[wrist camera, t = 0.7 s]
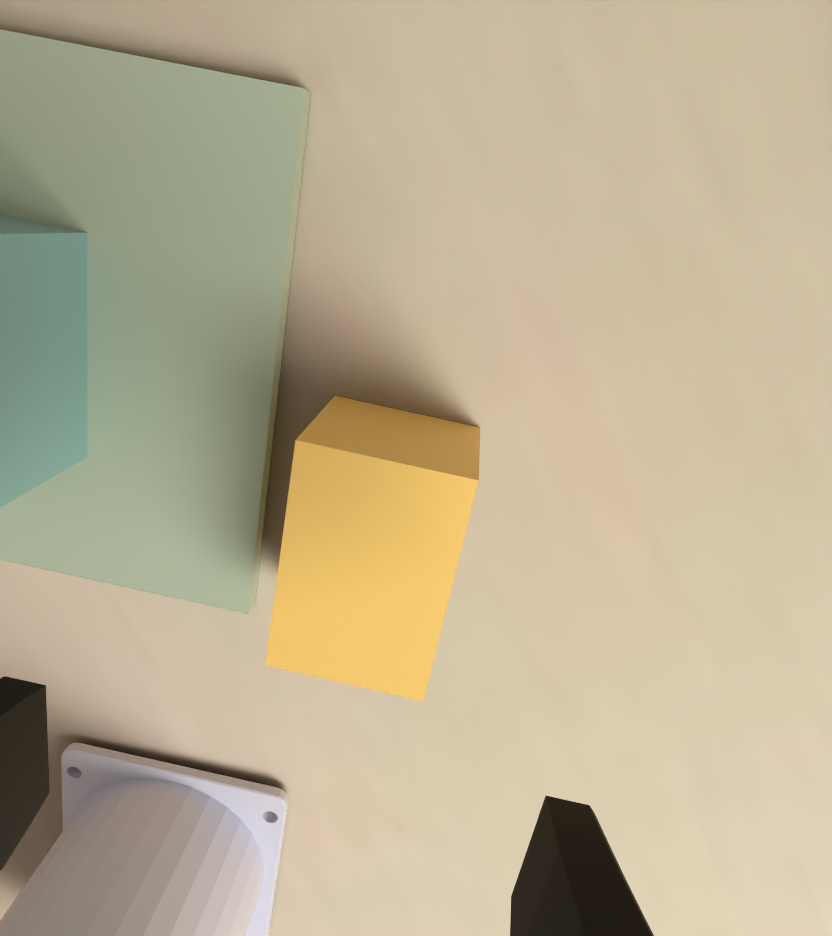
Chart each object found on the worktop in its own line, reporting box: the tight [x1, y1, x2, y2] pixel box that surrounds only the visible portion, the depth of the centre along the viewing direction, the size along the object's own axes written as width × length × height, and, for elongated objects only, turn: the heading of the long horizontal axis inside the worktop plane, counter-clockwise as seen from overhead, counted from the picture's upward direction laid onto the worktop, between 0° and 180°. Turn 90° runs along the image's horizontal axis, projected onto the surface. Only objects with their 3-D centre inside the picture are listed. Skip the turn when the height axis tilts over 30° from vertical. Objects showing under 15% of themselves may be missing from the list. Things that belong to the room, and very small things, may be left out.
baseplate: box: [0, 29, 311, 614], centre depth 17 cm, size 14×14×1 cm
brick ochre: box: [265, 396, 480, 701], centre depth 17 cm, size 6×4×4 cm, turn 169°
